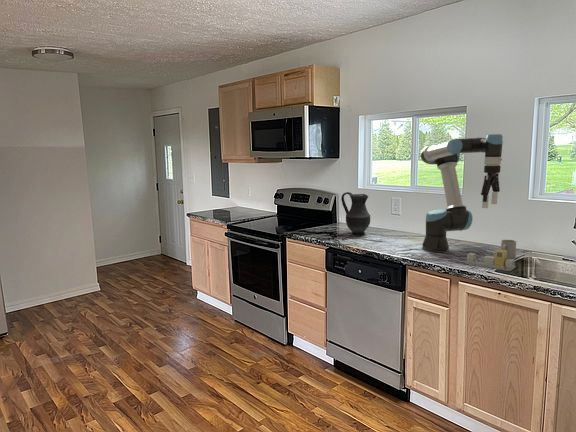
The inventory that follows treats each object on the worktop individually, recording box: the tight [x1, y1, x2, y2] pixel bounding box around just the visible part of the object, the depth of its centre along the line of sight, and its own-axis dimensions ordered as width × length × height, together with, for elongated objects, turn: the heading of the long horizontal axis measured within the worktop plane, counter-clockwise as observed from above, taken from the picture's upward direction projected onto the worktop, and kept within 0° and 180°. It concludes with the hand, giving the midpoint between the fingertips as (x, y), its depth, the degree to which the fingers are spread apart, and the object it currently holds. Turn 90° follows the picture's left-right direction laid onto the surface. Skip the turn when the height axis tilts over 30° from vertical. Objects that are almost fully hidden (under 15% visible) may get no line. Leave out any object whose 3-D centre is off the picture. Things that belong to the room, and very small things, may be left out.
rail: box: [464, 252, 517, 272], centre depth 216 cm, size 22×9×5 cm, turn 47°
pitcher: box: [340, 191, 371, 237], centre depth 296 cm, size 17×21×30 cm
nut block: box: [494, 248, 507, 266], centre depth 212 cm, size 4×4×8 cm
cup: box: [500, 239, 517, 259], centre depth 228 cm, size 7×10×9 cm
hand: (489, 206), depth 219 cm, fingers open, 13 cm apart
